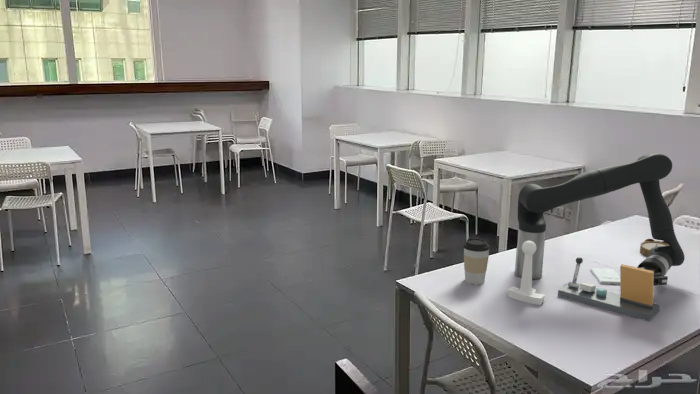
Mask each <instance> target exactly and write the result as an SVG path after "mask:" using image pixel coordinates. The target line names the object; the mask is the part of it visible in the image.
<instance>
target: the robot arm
mask: <svg viewBox="0 0 700 394" xmlns="http://www.w3.org/2000/svg"><path fill="white" fill-rule="evenodd" d="M672 169H673V162H672V160H671V158H670V157H669V156H667V155H665V154H662V153H655V152H654V153H650V154H649V153H648V154H645V155H641V156H640V157H638V158H637V159H636V160H635V161H633V162H629V163H625V164H624V163H623V164H616V165H610V166H603V167H599V168H595V169H591V170H587V171H584V172H582V173H579V174H577V175H576V176H573V177H572V178H570V179H569V180H567V181H566V182H563V183H561V184H557V185H553V186H547V187H542V186H540V185H538V184H536V183H528V184H526V185H524V186H523V187H522V188H521V189H520V191H519V194H518V199H517V221H518V229H517V230H518V231H517V244H516V245H517V246H516V250H515V264H514V273H515V277H518V278H519V277H520V278H522V272H523V265H524V257H525V254H524V252H523V250H522V245H523V243H524V242H525V241H533V242H534V243H535V244H536V247H537V248H536V251H535V253H534V254H533V256H532V280H537V279H541V278H542V277H543V268H544V267H543V265H544V257H545V256H544V254H545V242H546V230H547V229H546V228H547V222H546V220H545V217H544V213H546V212H548V211H552V210H553V209H556V208H559V207H561V206H563V205H568V204H570V203H575V202H579V201H584V200H586V199H591V198H596V197H598V196H602V195H603V196H604V195H606V194H609V193H611V192H612V193H613V192H615V191H618V190H621V189H624V188H627V187H628V186H629V187H630V186H631V185H636V184H639V186H640V190H641V193H642V195H643V200H644V202H645V205H646V211H647V216H648V221H649V228H650V234H651V237H652V239H653V240H655V241H661V242H662V241H665V242H667V243H668V245H669V246H657V247H653V248H652V249H651V250H650V254H649V255H650V256H649V257H648V256H646V258H645V259H643V260H642V261H641V262H640V263H639V264H638V266H637V268H641V269H646V270H650V271H654V283H653V287H654V286H665V285H668V276H667V273H668V271H669V270H670V269H671V267H678V266H681V265H682V264H683V263H684V261H685V253H684V250H683V249H682V247H681V245H680V243H679V241H678V239H677V235H676V233H675V229H674V224H673V223H674V222H673V217H672V213H671V210H670V209H669V206H668V204H667V203H666V200H665V198H664V196H663V193H662V190H661V185H660V184H661V183H660V180H662V179H665V178H666V177H668V176H669V175H670V173H671V172H672Z"/></svg>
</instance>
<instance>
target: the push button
mask: <svg viewBox="0 0 700 394" xmlns="http://www.w3.org/2000/svg"><path fill="white" fill-rule="evenodd" d="M607 291H608V290H607V289H605V288H600V287H599V288H598V289H597V291H596V295H598V296H601V297H605V296H606V294H607Z"/></svg>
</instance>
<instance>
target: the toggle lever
mask: <svg viewBox="0 0 700 394" xmlns="http://www.w3.org/2000/svg"><path fill="white" fill-rule="evenodd" d="M575 262H576V263H575V269H574V273H573V278H572V281H571V282H570V281H569V282H567V283H568V287H572V288H576V289H578V288H579V284H580V283H579V284H576V283H577V282H578V281H577V280H578V277H579V273H580V267H581V264H583V262H584V258H582V257H580V256H578V257H576V258H575Z"/></svg>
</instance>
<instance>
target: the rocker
mask: <svg viewBox="0 0 700 394" xmlns="http://www.w3.org/2000/svg"><path fill="white" fill-rule="evenodd" d="M579 284H580V288H579V289H581V290H585V291H588V292H592V291H595V289H596V288H597V287H596V286H597V285H596V284H592V283H588V282H582V283H579Z"/></svg>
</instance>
